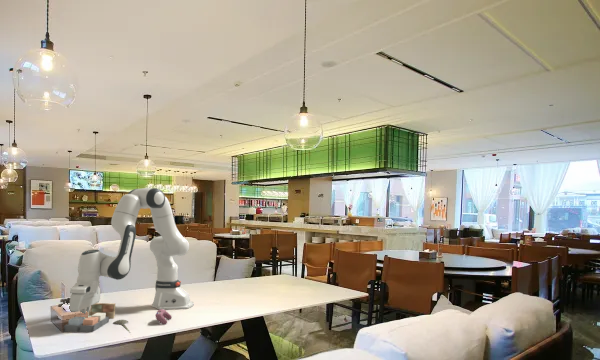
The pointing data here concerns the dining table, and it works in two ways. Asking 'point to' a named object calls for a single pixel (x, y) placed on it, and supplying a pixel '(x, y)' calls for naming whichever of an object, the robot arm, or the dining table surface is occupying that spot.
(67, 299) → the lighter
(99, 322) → the keypad
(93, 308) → the stand
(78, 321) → the key blue
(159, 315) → the pink neck pillow
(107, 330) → the dining table surface
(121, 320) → the soupspoon
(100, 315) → the key cream
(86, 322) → the key terracotta
